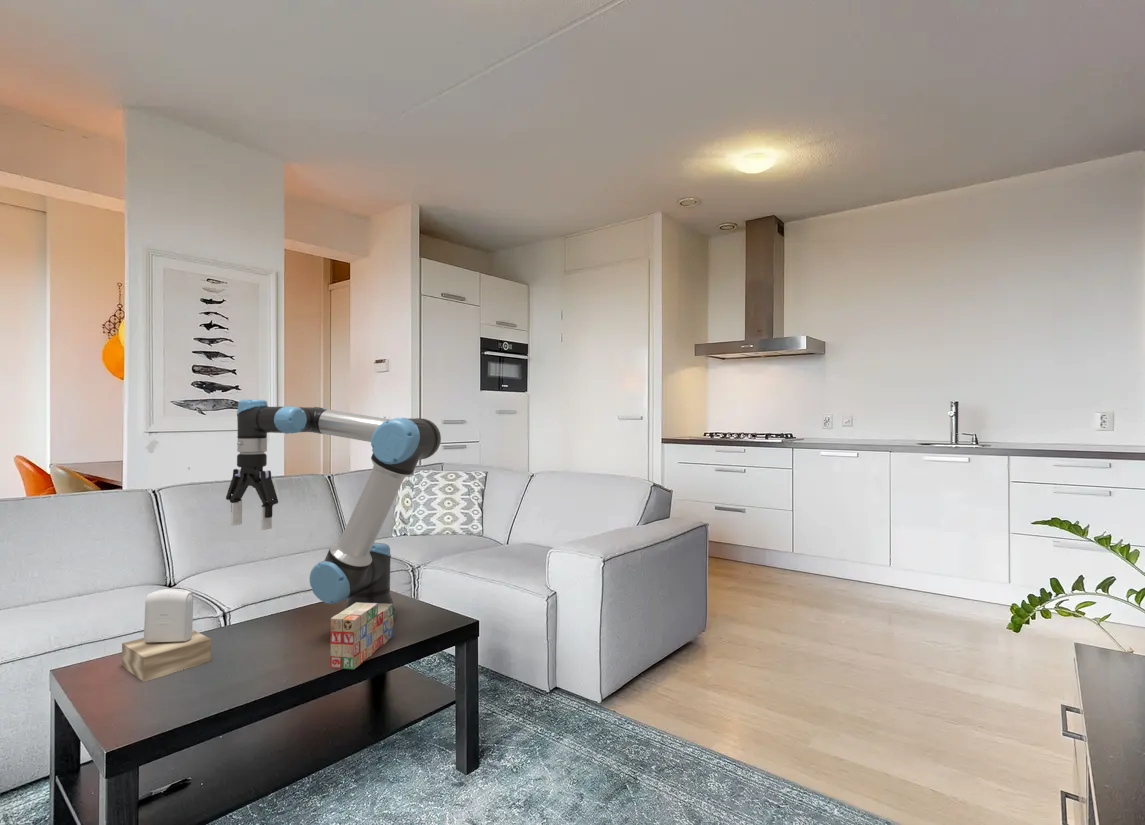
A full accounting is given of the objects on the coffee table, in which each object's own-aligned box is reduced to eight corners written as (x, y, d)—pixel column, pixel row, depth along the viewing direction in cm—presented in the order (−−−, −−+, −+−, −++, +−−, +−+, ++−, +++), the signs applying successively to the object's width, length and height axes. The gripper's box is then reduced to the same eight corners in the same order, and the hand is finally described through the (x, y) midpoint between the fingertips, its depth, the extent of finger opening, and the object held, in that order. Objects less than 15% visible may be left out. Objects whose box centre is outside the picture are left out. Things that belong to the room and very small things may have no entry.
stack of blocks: (372, 636, 163) (372, 591, 163) (393, 637, 162) (394, 592, 162) (329, 668, 142) (330, 617, 142) (353, 670, 141) (354, 618, 141)
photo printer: (139, 644, 141) (142, 591, 141) (150, 638, 145) (153, 587, 146) (185, 643, 142) (188, 591, 143) (195, 637, 146) (197, 586, 147)
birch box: (210, 663, 145) (210, 638, 145) (143, 683, 134) (144, 657, 134) (186, 649, 153) (186, 626, 153) (121, 668, 142) (122, 643, 142)
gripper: (213, 452, 172) (212, 525, 171) (267, 455, 160) (266, 533, 160) (237, 451, 178) (237, 521, 178) (292, 453, 167) (291, 528, 166)
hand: (251, 527), depth 169 cm, fingers open, 13 cm apart
